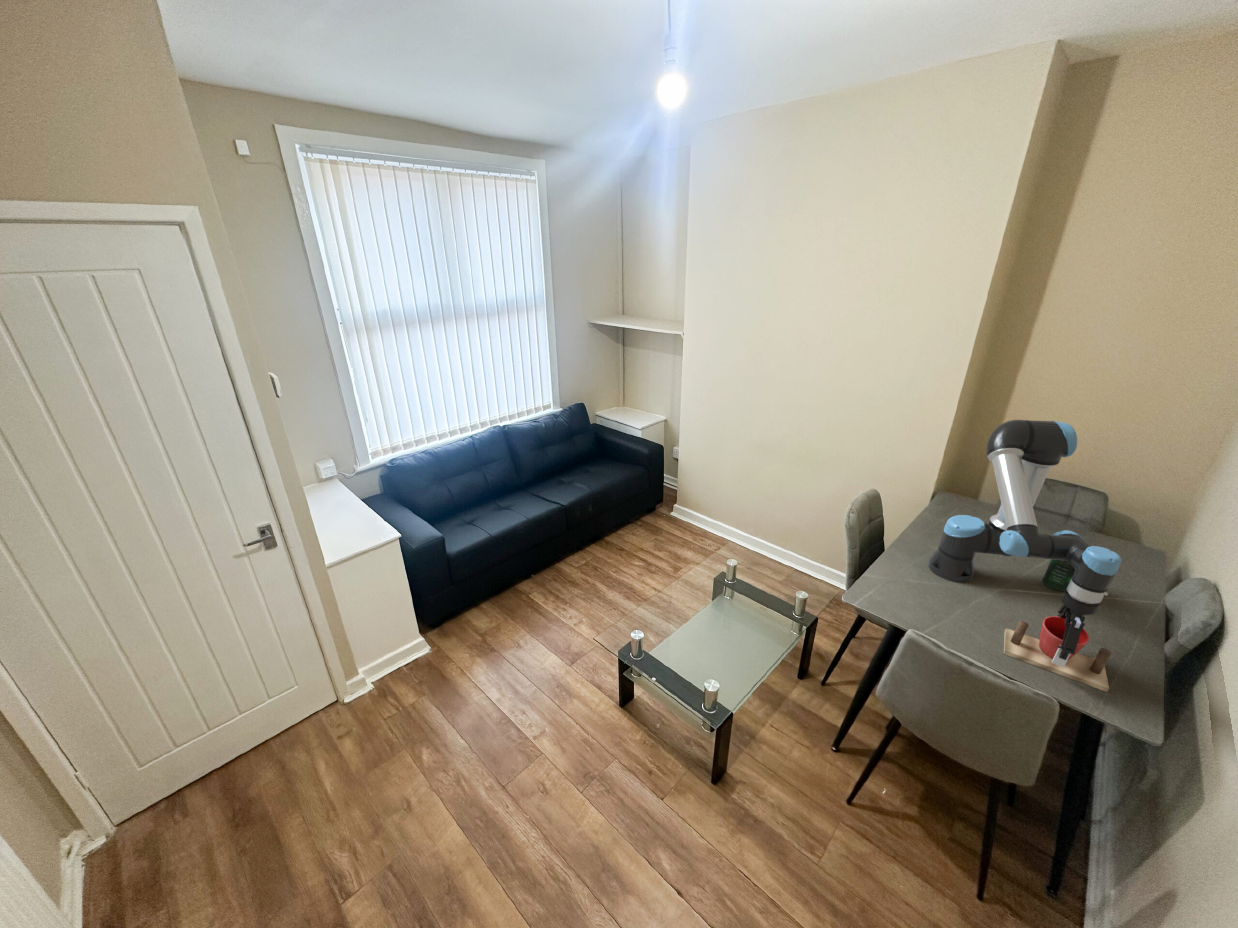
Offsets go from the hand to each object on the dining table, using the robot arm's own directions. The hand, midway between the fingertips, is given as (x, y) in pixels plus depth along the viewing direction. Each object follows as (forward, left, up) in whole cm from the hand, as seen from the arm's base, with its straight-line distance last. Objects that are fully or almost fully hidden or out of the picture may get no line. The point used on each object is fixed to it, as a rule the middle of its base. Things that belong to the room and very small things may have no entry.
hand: (1056, 650), depth 146 cm
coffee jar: (+3, +47, -4) cm, 47 cm away
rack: (0, 0, -4) cm, 4 cm away
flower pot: (0, +2, -2) cm, 3 cm away
